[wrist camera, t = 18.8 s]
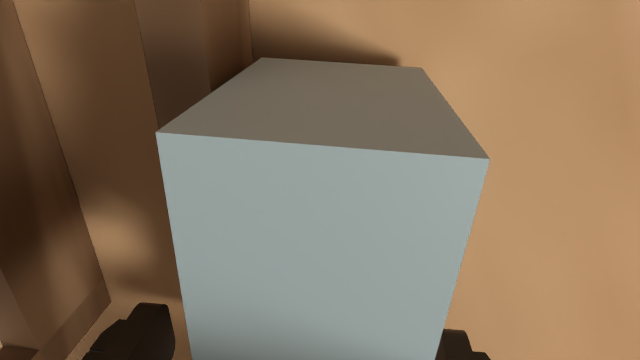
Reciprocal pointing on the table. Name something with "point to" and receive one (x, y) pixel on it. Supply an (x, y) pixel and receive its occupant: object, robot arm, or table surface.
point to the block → (319, 212)
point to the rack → (53, 177)
